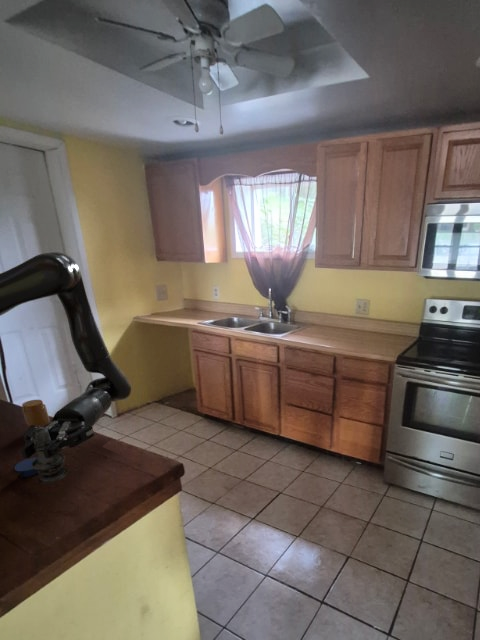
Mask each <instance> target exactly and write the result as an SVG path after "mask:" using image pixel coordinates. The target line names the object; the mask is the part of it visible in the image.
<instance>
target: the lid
mask: <svg viewBox="0 0 480 640" xmlns="http://www.w3.org/2000/svg"><path fill="white" fill-rule="evenodd" d="M36 459H37V456H36V457H29V458H25V459H23V460H21V461H19V462H18V463H16V464H15V466H14V467H13V469H14V471H16V472H18V473H20V474H18V475H17V477H18V478H19V477H21V478H28V477H32V476H36V475H38V473H37V472H36V471H35V470H34V469H33V468H32V467H31V464H32V462H33V461H34V460H36Z"/></svg>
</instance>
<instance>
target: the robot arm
mask: <svg viewBox="0 0 480 640" xmlns="http://www.w3.org/2000/svg"><path fill="white" fill-rule="evenodd" d="M83 279H84V278H83V276H82V272H81V268H80V266H79V265H78V262H76V261H75V260H74V258H72V257H71V256H70V255H68V254H66V253H64V252H59V251H53V252H44V253H39V254H37V255H35V256H32V257H31V258H29V259H27V260H25V261H24V262H22V263H20V264H18V265H16V266H14V267H12V268H10V269H8V270H5V271H3V272H0V317H1V316H3V315H5V314H7V313H8V312H10V311H11V310H13V309H15V308H16V307H18V306H20V305H23V304H26V303H29V302H33V301H36V300H40V299H43V298H48V297H53V296H57V298H58V299H59V301H60V303H61V306H62V307H63V310H64V312H65V315H66V319H67V323H68V327H69V333H70V337H71V341H72V344H73V347H74V349H75V351H76V354H77V356H78V357H79V360H80V362H81V364H82V366H83V368H84V369H85V371H86V372H88V373H90V374H91V373H92V374H100V375H102V376H103V377H99V378H96V379H93V380H91V381H90V382H89V383H88V384H87V386H86V387H85V390H84V392H82V394H80V395H79V396H77V397H74V398H73V399H71V400H70V401H69V402H68V403H66V404H65V405H64V406H63V407H61V408H60V409H58V410H57V411H56V412H55V413H54V415H53V417H52V419H51V420H50V423H47V424H45V425H44V427H40V428H46V429H47V430H48V432H49V435H50V439H51V441H52V442H51V443H50V444H49V445H48V446H46V447H45V448H44V450H43V451H44V455H45V458H51V457H52V456H54V455H56V454H57V453H58V454H59V452H60V451H62V450H65V449H66V448H67V447H69V448H70V449H72V448H76V447H77V446H79V445H81V444H82V443H84V442H86V441H88V440H90V439H92V438H93V437H94V436H95V432H94V426H95V425H96V424H97V423H98V422H99V420H100V419H101V418H102V417H103V415H105V413H107V411H108V410H109V409H110V408H111V406H112V404H113V403H112V402H119V401H124V400H126V399H128V398H129V397H130V395H131V393H132V385H131V383H130V380H129V378H128V377H127V375H126V374H125V373H124V372H123V371H122V369H120V368H119V366H118V365H117V364H116V362H115V361H114V360H113V359H112V357H111V354H110V352H109V350H108V347H107V345H106V343H105V340H104V338H103V336H102V334H101V332H100V330H99V327H98V324H97V322H96V319H95V316H94V314H93V311H92V308H91V305H90V304H91V303H90V302H89V297H88V295H87V291H86V288H85V287H86V286H85V283H84V280H83ZM36 428H37V427H36V426H35V425H31V426H29V427H28V428H27V430H26V431H25V433H24V435H23V440H24V442H25V445H24V446H22V447H21V448H20V452H21V455H22V458H23V459H29V458H32V456H33V455H34V454H36V450H34V449H33V446H34V442H33V439H32V436H31V433H32V431H33V430H35V429H36ZM75 439H76V440H75Z"/></svg>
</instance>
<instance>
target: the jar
mask: <svg viewBox="0 0 480 640" xmlns="http://www.w3.org/2000/svg"><path fill="white" fill-rule="evenodd" d="M21 408H22V409H21V412H22V415H23V418H24V422H25V425H26V427H27V429H28V427H29V426H31V425H35V426H37V425H39V426H40V427H44V425H45V424H47V423H50V422H51V420H50V416H49V412H48V409H47V406H46V404H44V402H43V400H42V399H31V400H28V401H24V402H23V403H22V404H21Z"/></svg>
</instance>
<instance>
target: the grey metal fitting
mask: <svg viewBox="0 0 480 640" xmlns="http://www.w3.org/2000/svg"><path fill="white" fill-rule="evenodd" d="M36 427H37V428H36V429H35V430H33V431H32V433H31V436H32V439H33V442H34V446H33V449H34V450H36V452H35V454H36V457H37V459H36V460H34V461H33V462H32V464H31V467H32V468H33V469H34V470H35V471H36V472H37V473H38V474H39V475H38V474H37V475H38V476H37V482H39V483H41V484H50V483H55V482H57V481H60V480H62V479H63V478H64V477H66V475H67V474H68V470H67V469H66V468H64V464H65V461H66V457H65V455H64V454H62V453H59V452H58V453H57V454H56V455H54V456H52V457H51V458H45V455H44V451H43V450H44V448H45V447H46V446H48V445H49V444H50V443H51V442H52V441H51V439H50V435H49V432H48V430H47V429H46V428H40V426H39V425H37V426H36Z"/></svg>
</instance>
